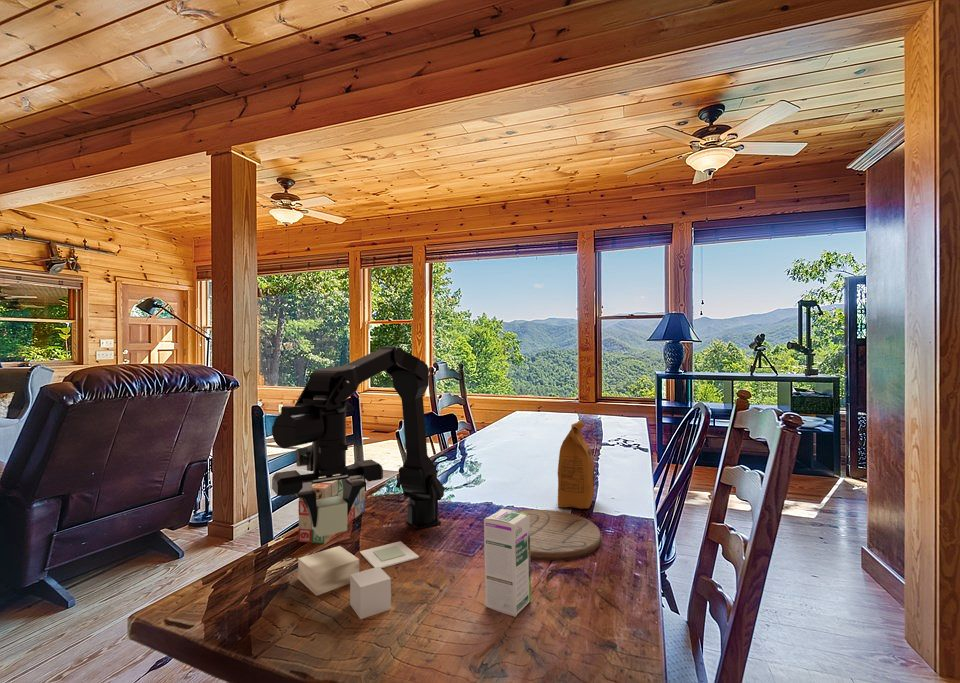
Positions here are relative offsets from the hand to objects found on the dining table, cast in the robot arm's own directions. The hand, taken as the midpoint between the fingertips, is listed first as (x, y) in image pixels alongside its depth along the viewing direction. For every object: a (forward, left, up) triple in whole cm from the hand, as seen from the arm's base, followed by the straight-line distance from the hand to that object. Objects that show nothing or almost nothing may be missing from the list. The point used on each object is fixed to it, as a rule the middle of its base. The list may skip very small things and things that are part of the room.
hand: (329, 523), depth 84 cm
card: (-13, -3, -10) cm, 17 cm away
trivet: (-46, +7, -11) cm, 48 cm away
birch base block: (0, 0, -10) cm, 10 cm away
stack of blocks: (-9, -26, -10) cm, 29 cm away
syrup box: (-22, +25, -10) cm, 35 cm away
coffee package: (-68, -4, -10) cm, 69 cm away
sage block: (0, 0, -1) cm, 1 cm away
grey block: (-3, +13, -10) cm, 17 cm away
